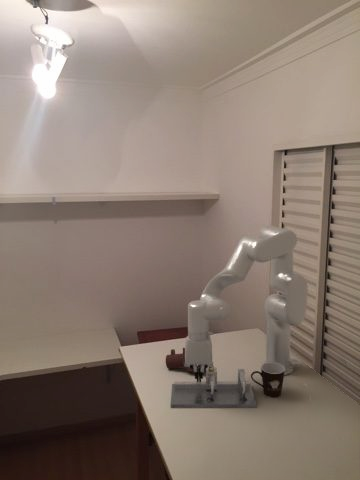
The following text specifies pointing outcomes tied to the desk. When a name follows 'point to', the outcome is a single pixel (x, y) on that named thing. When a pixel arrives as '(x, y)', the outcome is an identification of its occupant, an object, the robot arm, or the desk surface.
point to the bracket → (178, 360)
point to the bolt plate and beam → (223, 395)
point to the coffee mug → (271, 378)
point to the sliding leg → (211, 379)
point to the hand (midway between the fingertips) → (198, 380)
